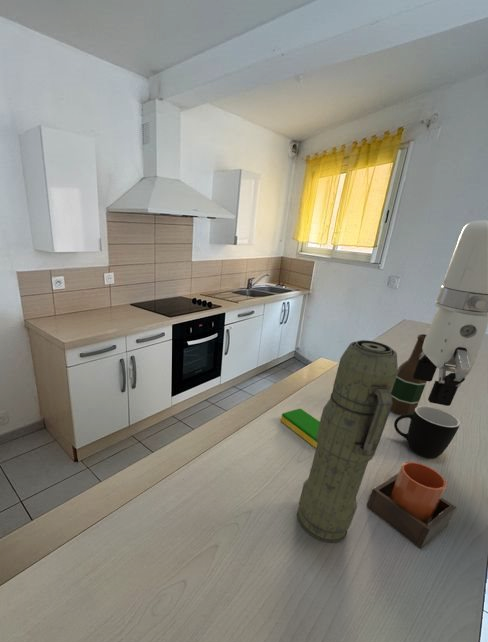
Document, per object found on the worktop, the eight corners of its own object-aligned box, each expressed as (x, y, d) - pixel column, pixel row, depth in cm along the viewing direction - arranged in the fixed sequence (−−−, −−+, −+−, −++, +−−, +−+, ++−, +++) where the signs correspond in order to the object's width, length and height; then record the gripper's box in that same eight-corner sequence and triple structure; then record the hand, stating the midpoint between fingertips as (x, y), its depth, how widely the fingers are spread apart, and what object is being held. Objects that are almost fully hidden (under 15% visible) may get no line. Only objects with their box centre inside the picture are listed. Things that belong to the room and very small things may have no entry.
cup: (434, 521, 61) (453, 481, 57) (415, 537, 58) (435, 495, 54) (397, 496, 66) (413, 457, 62) (378, 508, 63) (394, 469, 59)
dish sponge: (319, 451, 78) (321, 443, 77) (279, 420, 89) (281, 413, 88) (339, 443, 81) (341, 436, 80) (298, 415, 92) (300, 407, 91)
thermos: (325, 493, 66) (372, 331, 52) (363, 547, 55) (434, 362, 42) (284, 497, 64) (322, 332, 51) (316, 554, 54) (374, 363, 40)
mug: (442, 446, 82) (457, 413, 78) (446, 467, 75) (463, 431, 71) (388, 430, 88) (400, 398, 84) (388, 448, 81) (400, 414, 77)
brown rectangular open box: (447, 524, 60) (456, 507, 59) (420, 548, 56) (429, 530, 54) (394, 487, 68) (400, 471, 67) (366, 505, 63) (372, 488, 62)
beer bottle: (390, 400, 103) (415, 329, 94) (417, 411, 98) (447, 337, 89) (380, 407, 99) (405, 334, 89) (408, 420, 93) (438, 342, 84)
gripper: (523, 317, 45) (473, 420, 51) (469, 293, 60) (437, 375, 67) (459, 309, 47) (419, 409, 54) (423, 288, 62) (396, 368, 69)
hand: (429, 390), depth 60 cm, fingers open, 9 cm apart
